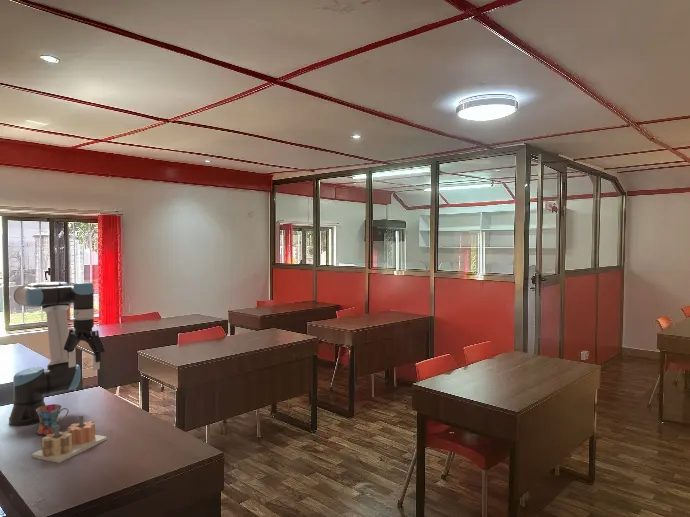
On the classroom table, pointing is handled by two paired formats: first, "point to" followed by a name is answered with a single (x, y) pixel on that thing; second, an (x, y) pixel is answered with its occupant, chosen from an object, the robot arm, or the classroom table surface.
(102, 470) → the classroom table surface
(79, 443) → the gear board
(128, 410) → the classroom table surface
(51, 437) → the gear
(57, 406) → the mug
